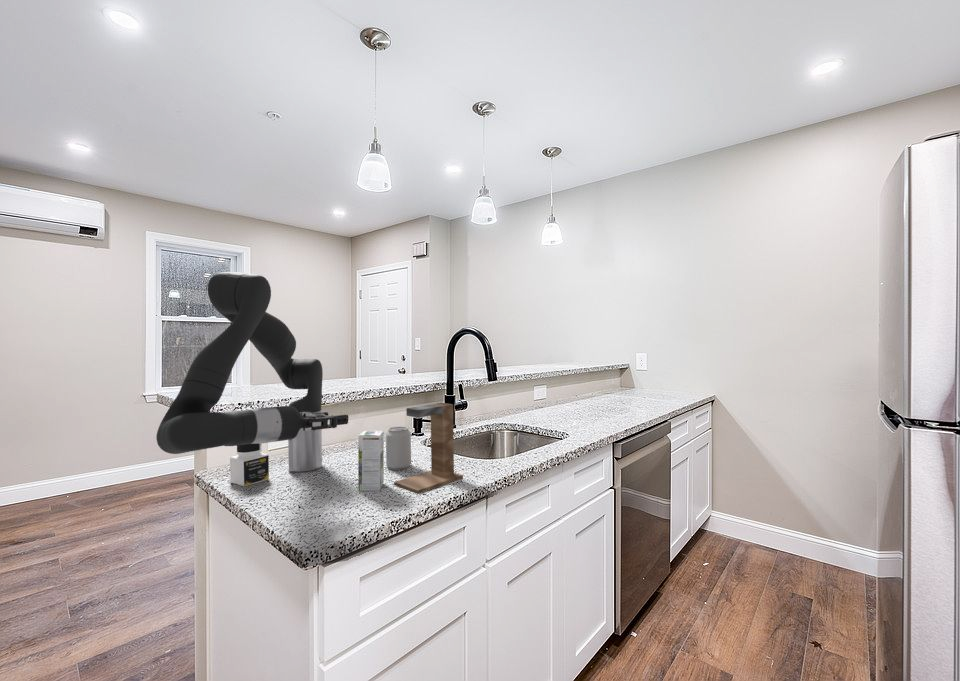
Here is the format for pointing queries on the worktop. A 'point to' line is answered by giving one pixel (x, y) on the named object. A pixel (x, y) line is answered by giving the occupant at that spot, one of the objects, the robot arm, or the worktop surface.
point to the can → (398, 448)
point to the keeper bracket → (435, 449)
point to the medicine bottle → (249, 465)
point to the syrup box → (371, 461)
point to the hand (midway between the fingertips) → (337, 417)
